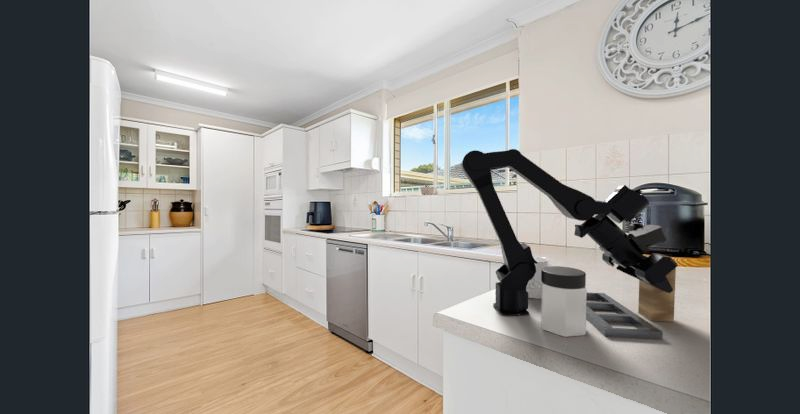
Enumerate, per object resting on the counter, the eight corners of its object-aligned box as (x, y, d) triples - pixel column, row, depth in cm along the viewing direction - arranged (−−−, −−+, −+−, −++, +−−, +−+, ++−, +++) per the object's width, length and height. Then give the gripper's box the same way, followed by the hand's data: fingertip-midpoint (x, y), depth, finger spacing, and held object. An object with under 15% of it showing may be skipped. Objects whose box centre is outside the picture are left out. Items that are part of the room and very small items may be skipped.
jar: (593, 329, 65) (595, 271, 64) (576, 342, 59) (578, 278, 59) (549, 316, 72) (550, 263, 71) (531, 326, 66) (532, 269, 66)
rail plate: (605, 336, 62) (605, 328, 61) (563, 297, 84) (563, 291, 84) (662, 339, 60) (662, 331, 60) (603, 298, 83) (604, 293, 83)
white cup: (545, 301, 81) (546, 262, 81) (513, 296, 85) (514, 259, 85) (549, 293, 88) (550, 257, 87) (519, 288, 92) (520, 254, 91)
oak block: (650, 320, 69) (652, 261, 68) (638, 312, 73) (640, 256, 72) (673, 321, 68) (676, 261, 67) (660, 313, 72) (662, 257, 72)
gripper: (667, 215, 61) (731, 274, 60) (617, 209, 79) (664, 254, 78) (621, 255, 62) (682, 313, 61) (582, 240, 81) (628, 285, 80)
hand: (663, 288), depth 70 cm, fingers closed on oak block, 4 cm apart
